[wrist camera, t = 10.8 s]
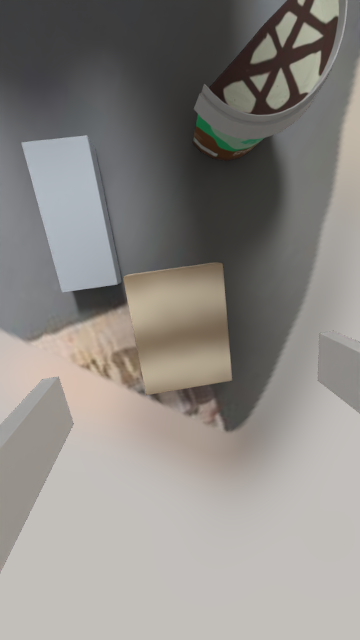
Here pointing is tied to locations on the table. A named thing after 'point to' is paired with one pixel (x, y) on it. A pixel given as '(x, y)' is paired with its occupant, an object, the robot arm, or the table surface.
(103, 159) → the table surface
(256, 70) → the food container
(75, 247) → the light gray rectangular block
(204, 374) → the gold metallic plate
